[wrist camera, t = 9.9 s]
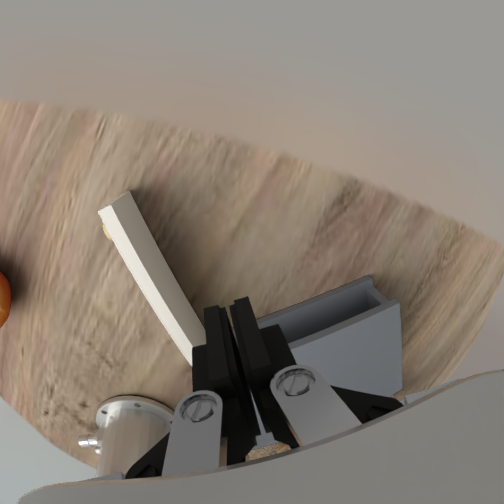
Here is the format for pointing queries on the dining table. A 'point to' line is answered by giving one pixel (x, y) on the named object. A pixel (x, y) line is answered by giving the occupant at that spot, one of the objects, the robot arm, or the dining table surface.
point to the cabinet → (344, 340)
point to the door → (152, 272)
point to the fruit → (4, 299)
